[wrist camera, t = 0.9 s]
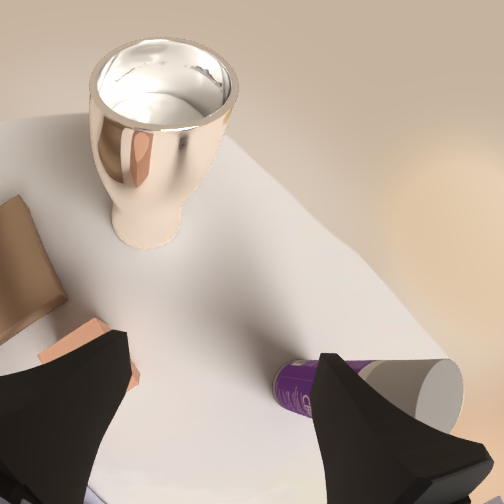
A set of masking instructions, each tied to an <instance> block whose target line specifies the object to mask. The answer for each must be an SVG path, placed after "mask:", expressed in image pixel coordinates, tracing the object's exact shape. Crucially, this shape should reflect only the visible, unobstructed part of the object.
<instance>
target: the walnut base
mask: <svg viewBox="0 0 504 504" xmlns="http://www.w3.org/2000/svg"><path fill="white" fill-rule="evenodd" d="M66 300H68V298H67V296H66V294H65V292H64V290H63V288H62V286H61V284H60V282H59V280H58V278H57V276H56V274H55V271H54V269H53V267H52V265H51V263H50V261H49V258H48V256H47V254H46V252H45V249H44V247H43V245H42V242H41V240H40V237H39V235H38V232H37V230H36V227H35V225H34V222H33V219H32V217H31V214H30V211H29V208H28V207H27V205H26V204H25V202H24V201H23V199H22V198H21V196H20V195H18V196H16V197H15V198H13V199H11V200H10V201H8V202H7V203H5V204H4V205H2V206H1V207H0V346H1V345H2V344H3V343H5V342H6V341H8V340H9V339H10V338H12V337H13V336H15V335H16V334H17V333H19V332H20V331H22V330H23V329H25V328H26V327H28V326H29V325H30V324H32V323H33V322H35V321H36V320H38V319H39V318H41V317H42V316H44V315H45V314H47V313H48V312H50V311H51V310H53V309H54V308H56V307H57V306H59V305H60V304H62V303H63V302H65V301H66Z"/></svg>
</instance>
